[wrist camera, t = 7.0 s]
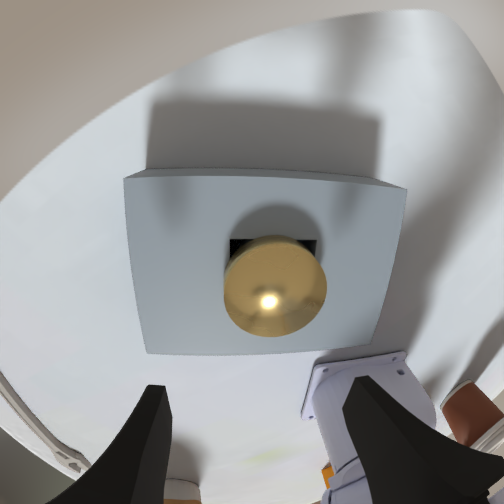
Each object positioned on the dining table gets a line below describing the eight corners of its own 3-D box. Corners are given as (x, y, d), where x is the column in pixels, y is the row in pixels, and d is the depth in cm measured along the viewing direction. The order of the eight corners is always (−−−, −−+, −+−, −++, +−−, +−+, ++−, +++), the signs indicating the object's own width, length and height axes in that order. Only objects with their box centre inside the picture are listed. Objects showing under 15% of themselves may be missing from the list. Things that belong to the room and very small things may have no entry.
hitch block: (372, 177, 17) (407, 189, 13) (348, 311, 21) (370, 344, 17) (145, 169, 15) (123, 178, 12) (157, 316, 19) (146, 353, 15)
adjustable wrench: (-22, 348, 20) (-28, 356, 18) (8, 351, 20) (1, 362, 18) (68, 462, 29) (66, 470, 27) (100, 468, 29) (98, 477, 28)
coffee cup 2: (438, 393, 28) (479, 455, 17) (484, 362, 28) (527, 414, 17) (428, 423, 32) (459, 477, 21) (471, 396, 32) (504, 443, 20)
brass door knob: (303, 216, 17) (336, 249, 12) (292, 286, 19) (315, 336, 14) (225, 211, 17) (226, 243, 12) (220, 283, 19) (221, 336, 14)
